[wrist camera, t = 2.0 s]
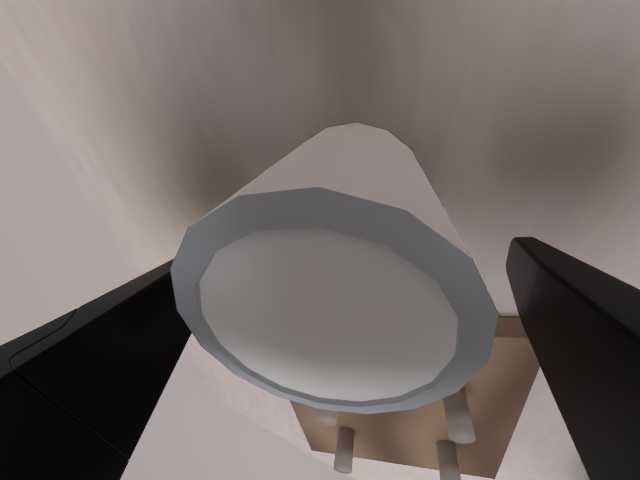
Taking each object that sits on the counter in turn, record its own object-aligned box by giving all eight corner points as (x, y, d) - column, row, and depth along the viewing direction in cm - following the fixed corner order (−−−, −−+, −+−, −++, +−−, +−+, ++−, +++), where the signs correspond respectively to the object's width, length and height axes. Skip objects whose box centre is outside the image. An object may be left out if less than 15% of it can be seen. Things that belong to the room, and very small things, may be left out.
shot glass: (455, 243, 12) (513, 421, 6) (310, 271, 15) (261, 417, 9) (420, 68, 9) (475, 118, 3) (241, 143, 11) (98, 244, 6)
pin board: (538, 317, 13) (580, 394, 11) (489, 459, 22) (505, 523, 19) (264, 310, 17) (239, 366, 14) (314, 434, 26) (305, 485, 23)
